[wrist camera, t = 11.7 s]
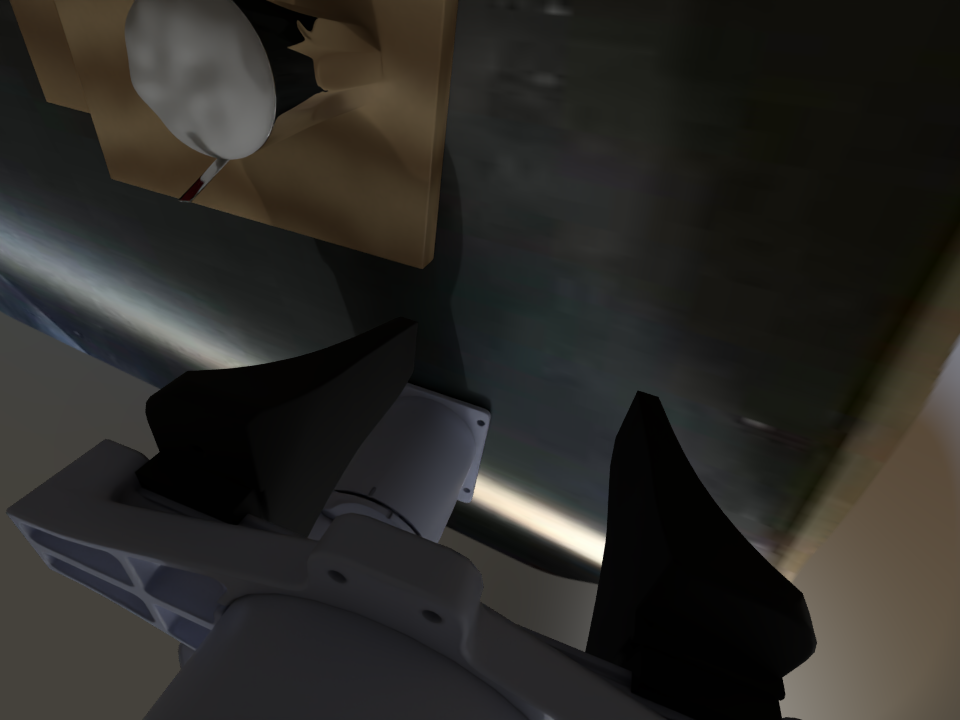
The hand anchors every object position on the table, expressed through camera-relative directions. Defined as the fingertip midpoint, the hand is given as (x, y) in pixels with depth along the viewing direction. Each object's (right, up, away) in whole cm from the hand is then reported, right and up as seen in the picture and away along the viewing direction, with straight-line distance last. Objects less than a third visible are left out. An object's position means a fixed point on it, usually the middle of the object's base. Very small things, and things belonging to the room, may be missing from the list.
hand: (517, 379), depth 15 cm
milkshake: (-7, +13, +5) cm, 15 cm away
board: (-14, +14, +9) cm, 22 cm away
